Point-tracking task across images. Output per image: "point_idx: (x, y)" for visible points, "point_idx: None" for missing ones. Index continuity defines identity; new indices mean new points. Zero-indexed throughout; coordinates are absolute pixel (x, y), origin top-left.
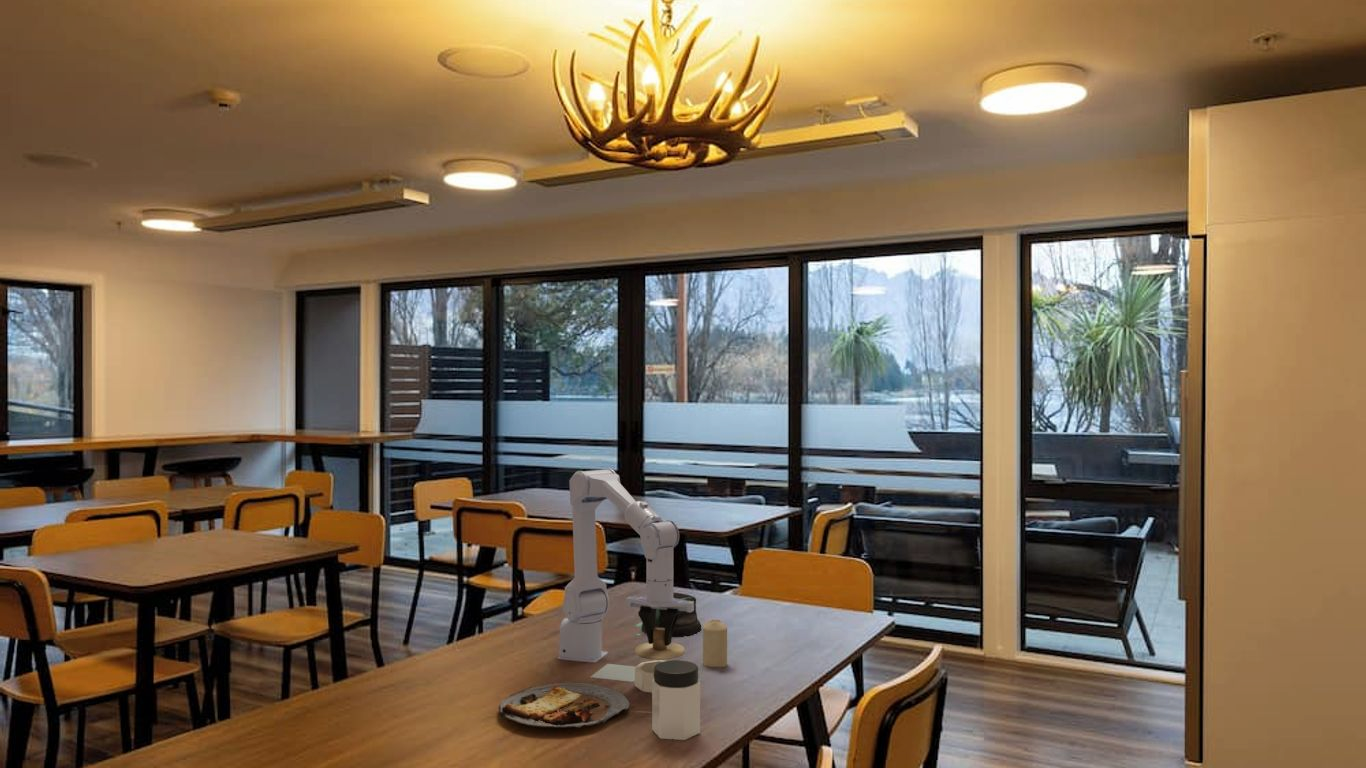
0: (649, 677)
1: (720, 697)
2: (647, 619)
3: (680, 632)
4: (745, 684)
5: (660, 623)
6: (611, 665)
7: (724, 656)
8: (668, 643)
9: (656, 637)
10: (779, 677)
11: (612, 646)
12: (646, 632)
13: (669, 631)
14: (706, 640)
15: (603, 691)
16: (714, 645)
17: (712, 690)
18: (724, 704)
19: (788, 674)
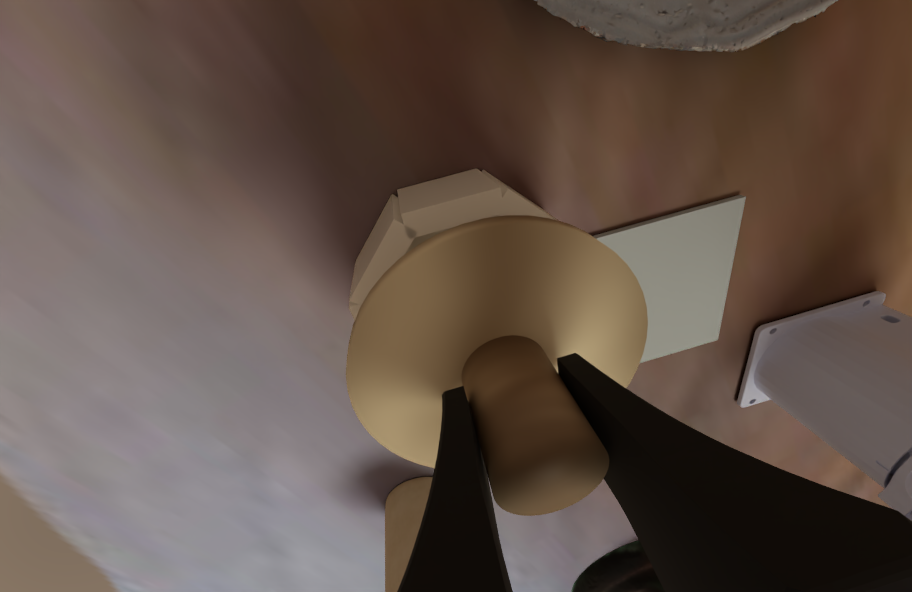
0: (463, 192)
1: (171, 305)
2: (724, 507)
3: (605, 571)
4: (218, 445)
5: None
6: (701, 334)
7: (385, 534)
8: (443, 406)
9: (536, 397)
10: (188, 531)
11: (737, 447)
12: (637, 396)
13: (432, 482)
14: None
15: (637, 6)
16: (407, 559)
17: (263, 347)
18: (76, 245)
19: (189, 555)
